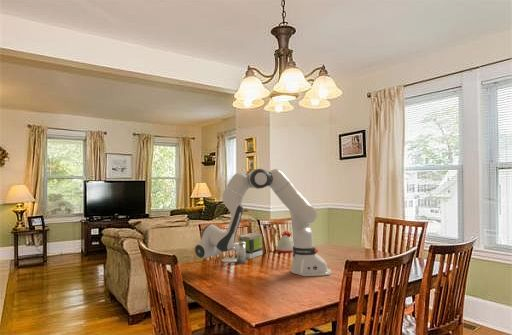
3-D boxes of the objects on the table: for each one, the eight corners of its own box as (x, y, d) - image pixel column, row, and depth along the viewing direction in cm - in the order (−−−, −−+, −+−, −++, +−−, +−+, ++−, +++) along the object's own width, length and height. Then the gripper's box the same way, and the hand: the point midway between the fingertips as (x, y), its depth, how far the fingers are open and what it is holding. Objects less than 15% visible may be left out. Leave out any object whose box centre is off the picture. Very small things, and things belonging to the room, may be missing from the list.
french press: (242, 264, 214) (242, 238, 214) (234, 263, 217) (234, 238, 217) (249, 261, 221) (249, 236, 221) (241, 260, 224) (241, 236, 224)
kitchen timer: (290, 253, 244) (289, 232, 245) (273, 251, 251) (273, 231, 252) (298, 250, 256) (298, 230, 256) (282, 248, 263) (282, 228, 264)
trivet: (239, 258, 228) (239, 257, 228) (237, 262, 217) (237, 261, 218) (223, 258, 229) (223, 257, 229) (220, 262, 218) (220, 261, 218)
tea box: (251, 253, 245) (251, 232, 246) (262, 255, 239) (262, 233, 240) (237, 257, 233) (237, 235, 234) (249, 259, 227) (249, 236, 228)
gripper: (232, 242, 191) (244, 239, 203) (202, 239, 201) (216, 236, 213) (231, 254, 190) (244, 250, 202) (202, 250, 200) (216, 246, 212)
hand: (230, 243), depth 208 cm, fingers open, 8 cm apart
